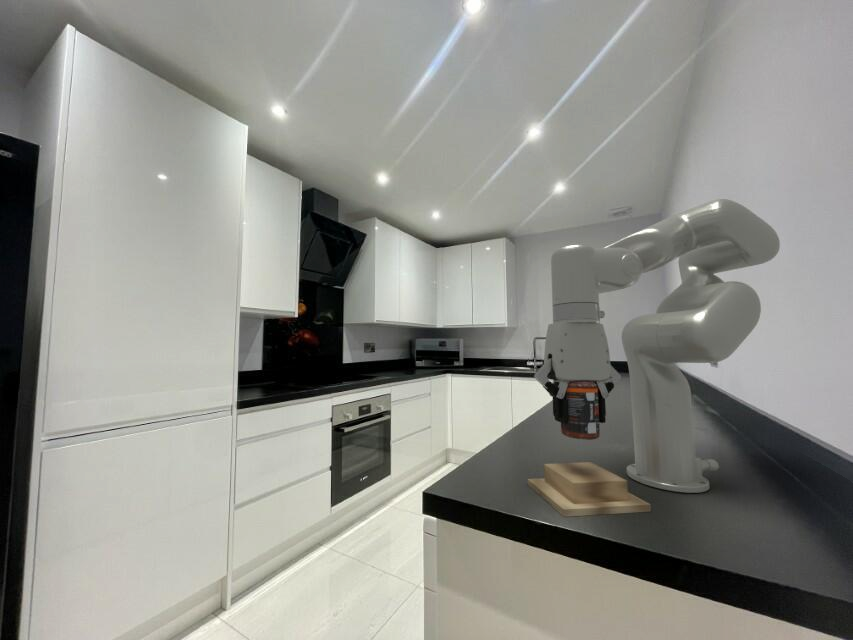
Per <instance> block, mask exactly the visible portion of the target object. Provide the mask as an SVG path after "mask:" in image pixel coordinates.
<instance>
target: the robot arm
mask: <svg viewBox="0 0 853 640" xmlns="http://www.w3.org/2000/svg"><path fill="white" fill-rule="evenodd" d="M780 248H781V241H780V238H779V236H778V233H777V232H776V230H775V229H774V228H773V227H772V225H770V224H768V222H766V221H765V220H764V219H762V218H761V217H760V216H758V215H757V214H756V213H754V212H753V211H752V210H750V209H748V208H747V207H746V206H744V205H742V203H741V204H740V203H738V202H737V201H734V200H731V199H727V198H718V199H715V200H711V201H708V202H707V203H703V204H699V205H698V206H695V207H693V208H689V209H687V210H684V211H682V212H679V213H676V214H674V215H671V216H668V217H667V218H665V219H664V218H663V220H662V219H661V220H660V221H658V222H656V223H654V224H652V225H649V226H647V227H646V228H643V229H640V230H639V231H637V232H634V233H631V234H630V235H627V236H625V237H623V238H621V239H619V240H618V241H616V242H614V243H611V244H609V245H607V246H605V247H593V246H591V245H588V244H580V243H579V244H570V245H565V246H562V247H558V248H557V249H556V250H555V251H553V253H552V255H551V260H550V266H551V267H550V270H551V271H550V272H551V302H552V323H549V324H548V325H547V330H546V333H545V342H544V351H543V352H544V353H543V354H544V356H543V365H542V366H540V368H539V369H538V370H536V372H535V373H534V375H533V378H534V379H535V380H536V381H537V382H538V383H539V384H540V385H541V386H542V387H543V389H544V390H545V391H546V392H547V393H548V394H549V396H550V397H551V398H552V415H553V416H554V421H556V422H559V423H560V424H561V423H568V401H567V399H565V398H564V395H565V392H566V389H567V386H568V383H569V382H575V381H579V380H590V381H591V382H594V383H596V385H597V388H598V406H599V424H600V423H601V424H606V416H607V413H606V412H607V410H606V409H607V408H606V399H608V398H609V395H610V393H611V391H613V389H614V388H615V386H616V384H618V382H619V381H621V379H622V376H621V374H620V373H619V372H618V371H617V369H615V368H614V367H613V366H612V364H611V357H610V356H611V355H610V350H609V344H608V338H607V334H606V330H605V327H604V324H603V323H601V319H604V318H605V316H606V313H605V311H604V310H600V294H604V293H611V292H615V291H619V290H620V291H621V290H625V289H627V288H628V287H629V288H630V287H632V286H633V285H634V284H635V285H636V283H637V282H638V281H639V280H640V279H641V278H642V275H643V274H645V273H648V272H651V271H654V270H657V269H660V268H662V267H664V266H665V265H667V264H669V263H671V262H673V261H674V260H676V259H678V262H677V263H678V269H679V275H680V280H681V284H680V285H679V286H678V287H677V288H675V289H674V290H673V291H672V292H670V293H669V294H668V295H667V296H666V297H665V298H664V299H663V300H661V302H660V304H659V305H658V307H657V308H656V311H655V313H651V314H645V315H640V316H637V317H634V318H632V319H630V320H629V321H628V322H627V323H626V324H625V325H624V327H623V328H622V331H621V343H622V347H623V351H624V354H625V358H626V362H627V366H628V372H629V373H628V375H629V382H630V383H629V384H630V399H631V400H630V402H631V416H632V431H633V432H632V434H633V448H634V463H632V464H629V465H627V466H626V474H627V475H628V477H629V478H631V479H632V480H634V481H635V482H638V483H641V484H643V485H646V486H649V487H653V488H656V489H660V490H664V491H665V490H666V491H669V492H677V493H685V494H691V493H692V494H696V493H699V494H700V493H704V492H707V491H708V490H710V489H711V488H710V487H711V486H710V481H709V480H708V478H706V477H704V476H703V473H704V472H705V471H708V472H709V471H710V472H711V471H717V470H719V468H720V467H719V463H718V462H717V461H716V460H715V459H712V458H710V459H702V458H700V457H697V456H696V455H697V454H696V453H697V452H696V444H695V431H694V421H693V420H694V419H693V406H692V392H691V391H692V390H691V387H690V384H689V381H688V379H687V378H686V376H685V375H684V374H683V372H682V371H681V370H680V369H679V367H678V366H677V364H678V363H681V364H685V363H687V364H692V363H693V364H710V363H711V364H714V363H718V362H721V361H722V362H723V361H724V360H726V359H728V358H729V357H730V356H731V355H732V354H734V352H735V351H736V350H737V349H738V348H739V347H740V346H741V344H743V342H744V341H745V340H746V339H747V337H748V336H749V335H750V334H751V333H752V332H753V330H754V329H755V328H756V326H757V324H758V323H759V321H760V316H761V313H762V312H761V311H762V307H761V300H760V297H759V295H758V293H757V292H756V290H755V289H754V288H753V287H752V286H750V285H749V284H747V283H745V282H743V281H736V280H735V281H734V280H732V281H724V280H723V279H722V278H721V277H719V276H717V275H715V274H720V273H723V272H728V271H733V270H738V269H739V270H740V269H743V268H744V269H745V268H748V267H749V268H750V267H753V266H757V265H758V266H759V265H762V264H765V263H768V262H771V260H773V259H774V258H775V257H776V256H777V255H778V253H779V252H780ZM550 380H552V381H550Z"/></svg>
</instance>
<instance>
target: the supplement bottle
mask: <svg viewBox="0 0 853 640" xmlns="http://www.w3.org/2000/svg"><path fill="white" fill-rule="evenodd" d="M564 398H565V399H567V401H568V423H561V422H560V428H561V434H563V436H565V437H568V438H571V439H578V440H589V441H591V440H597V439H598V438H600V433H601V432H600V426H601V425H600V422H599V406H598V388H597V385H596V383H594V382H591V381H590V380H579V381H575V382H569V383H568V386H567V389H566V392H565V395H564Z"/></svg>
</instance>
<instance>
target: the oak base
mask: <svg viewBox="0 0 853 640" xmlns="http://www.w3.org/2000/svg"><path fill="white" fill-rule="evenodd" d="M543 467H544V468H543V469H544V473H543V474H544V477H542V478H541V477H540V478H527V486H529V488H530V489H532V490H533V491H534V492H536V493H537V495H539V496H540V497H541V498H542V499H544V500H545V501H546V502H547V503H548V504H549V505H550V506H552V508H553V509H555V510H556V512H558V513H559V514H560V515H561V516H562V517H563V518H567V517H582V516H586V517H587V516H599V515H613V514H614V515H615V514H616V515H617V514H630V513H631V514H633V513H648V512H652V505H651V504H650V503H649V502H647V501H645V500H643V499H642V498H640V497H638V496H636V495H634V494H632V493H630V492H629V491H628V490H629V489H628V481H627V479H625V478H623V477H621V476H619V475H617V474H615V473H613V472H611V471H610V470H606V468H603V467H601V466H599V465H597V464H595V463H593V462H591V461H588V462H587V461H585V462H582V461H581V462H560V463H559V462H558V463H543Z"/></svg>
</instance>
